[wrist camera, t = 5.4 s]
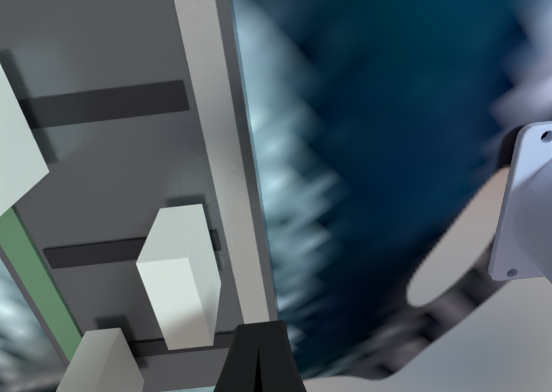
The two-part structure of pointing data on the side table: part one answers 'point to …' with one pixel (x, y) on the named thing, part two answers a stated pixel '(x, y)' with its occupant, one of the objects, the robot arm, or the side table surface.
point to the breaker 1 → (16, 150)
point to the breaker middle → (181, 276)
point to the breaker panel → (132, 170)
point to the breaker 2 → (102, 365)
